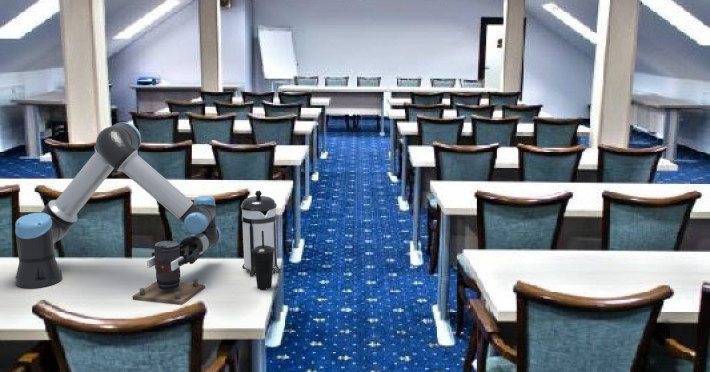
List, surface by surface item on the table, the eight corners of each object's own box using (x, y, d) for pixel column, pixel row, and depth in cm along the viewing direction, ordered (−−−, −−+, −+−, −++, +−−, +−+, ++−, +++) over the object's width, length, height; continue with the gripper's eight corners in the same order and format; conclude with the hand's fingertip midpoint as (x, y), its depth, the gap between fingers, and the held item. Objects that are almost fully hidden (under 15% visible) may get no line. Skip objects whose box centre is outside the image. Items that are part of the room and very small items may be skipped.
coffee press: (290, 266, 270) (288, 187, 264) (267, 279, 256) (265, 196, 250) (251, 260, 278) (248, 183, 271) (226, 272, 263) (223, 192, 257)
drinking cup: (279, 285, 251) (277, 229, 246) (269, 292, 244) (267, 235, 239) (259, 282, 253) (257, 227, 249) (249, 289, 246) (247, 233, 242)
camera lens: (175, 291, 238) (172, 248, 235) (152, 290, 239) (149, 246, 236) (185, 283, 246) (183, 240, 242) (163, 281, 247) (160, 239, 244)
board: (132, 299, 238) (131, 290, 237) (158, 283, 253) (157, 274, 252) (181, 304, 233) (181, 295, 232) (205, 288, 248) (204, 279, 247)
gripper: (221, 258, 255) (189, 279, 234) (168, 253, 261) (132, 273, 240) (220, 237, 254) (188, 256, 232) (166, 233, 259) (131, 251, 238)
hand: (160, 265), depth 236 cm, fingers closed on camera lens, 8 cm apart
